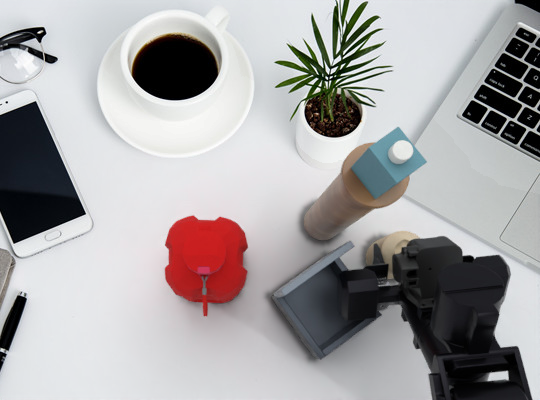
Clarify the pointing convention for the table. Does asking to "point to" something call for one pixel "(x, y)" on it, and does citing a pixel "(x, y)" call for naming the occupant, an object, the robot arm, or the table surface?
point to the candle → (390, 247)
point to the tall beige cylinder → (347, 200)
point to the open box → (320, 312)
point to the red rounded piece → (206, 260)
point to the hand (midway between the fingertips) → (398, 243)
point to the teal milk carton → (387, 162)
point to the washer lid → (313, 269)
